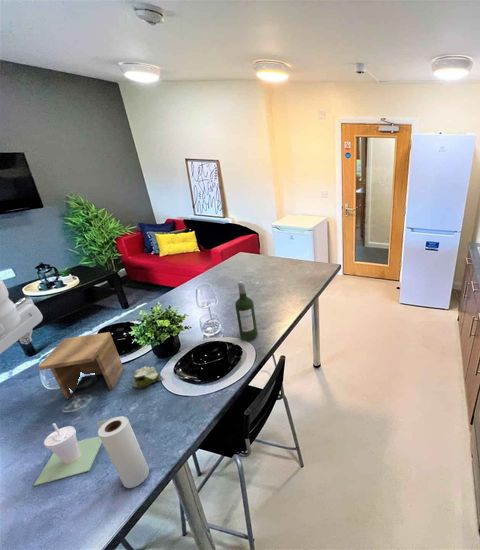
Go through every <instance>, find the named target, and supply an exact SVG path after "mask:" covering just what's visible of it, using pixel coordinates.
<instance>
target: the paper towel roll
mask: <svg viewBox="0 0 480 550" xmlns="http://www.w3.org/2000/svg"><path fill="white" fill-rule="evenodd" d="M96 425H97V427H98V428H99V429H98V431H97V435H98V436H99V437H100V439H101V441H102V445H103V447H104V449H105V451H106V453H107V455H108V457H109V459H110V461H111V463H112V465H113V468H114V470H115V471H116V473H117V475H118V477H119V480H120V481H121V483H122V486H123V487H124V488H127V489H132V488H136V487H138V486H140V485H141V484H142V483H144V482H145V480H146V479H147V478H148V476H149V475H150V468H149V465H148V463H147V459H146V458H145V456H144V454H143V451H142V449H141V446H140V444H139V442H138V439H137V437H136V435H135V432H134V430H133V428H132V425H131V423H130V420H129V418H128V417H127V416H123V415H121V416H114V417H110V418H107V419H105V420H101V421H97V422H96Z"/></svg>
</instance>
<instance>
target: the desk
mask: <svg viewBox="0 0 480 550" xmlns="http://www.w3.org/2000/svg"><path fill="white" fill-rule="evenodd" d="M37 368H38V370H39V371H44V370H50V371H51V373H52V375H53V377H54V379H55V381H56V383H57V385H58V387H59V388H60V390H61V393H62V394H63V397H64V398H65V399H66V400H68V399H70V398H71V397H72V395H71V393H70V390H69V388H70V389H71V390H72V391H73V393H74V392H75V391H76V389H77V388H78V386H79V384H81V382H82V380H81V381H80V382H79V384H78V385H77V383H78V379H79V377H80V372H82V373H84V374H90V373H95V375H93V376H92V375H90V376H86V377H85V378H89V377H94V376H100V375H103V378H104V380H105V382H106V385H107V387H108V389H109V391H112V390H114V389H115V387H116V384H117V383H118V381H119V379H120V377H121V375H122V373H123V371H124V369H125V368H124V365H123V363H122V360H121V357H120V355H119V352H118V350H117V347H116V345H115V341H114V340H113V337H112V334H111V332H110V331H108V332H100V333H94V334H85V335H79V336H73V337H65V338H63V339H62V340H61V341H60V342H59V343H58V345H56V346H55V347H54V349H53V350H52V351H51V352H50V353H49V354H48V355H47V356H46V358H45V359H43V361H42V362H41V363H40V364H39V365H38V366H37Z"/></svg>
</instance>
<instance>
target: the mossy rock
mask: <svg viewBox="0 0 480 550" xmlns="http://www.w3.org/2000/svg"><path fill="white" fill-rule="evenodd" d="M162 380H164V377H162V376H161V375H160V374H159V372H157V370H156V368H155V366H151V367H149V366H142V367H140V368H139V369H136V370H134V371H133V381H132V383H133V387H134V388H137V389H143V388H147V387H148V386H150V385H152V384H153V383H155V382H159V381H162Z"/></svg>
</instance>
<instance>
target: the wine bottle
mask: <svg viewBox="0 0 480 550" xmlns="http://www.w3.org/2000/svg"><path fill="white" fill-rule="evenodd" d="M245 284H246V283H245V282H244V281H243V280H240V281H238V282H237V287H238V293H239V298H237V300H236V301H235V303H234V306H235V307H234V308H235V312H236V318H237V322H238V330H239V337H240V339H241V340H243V341H252V340H255V338H257V336H258V327H257V320H256V314H255V313H256V312H255V307H254V300H253V299H252V298H251V297H248V296H247V295H248V294H247V290H246V285H245Z"/></svg>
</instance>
